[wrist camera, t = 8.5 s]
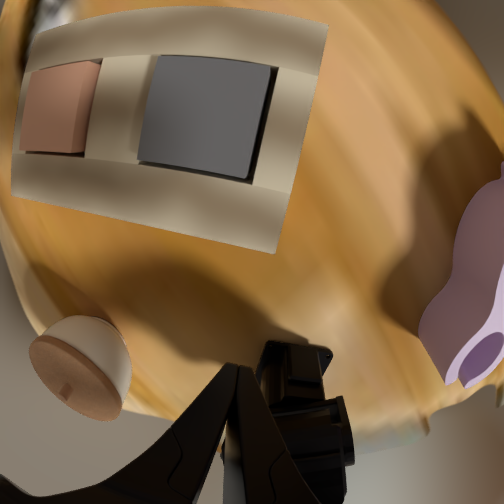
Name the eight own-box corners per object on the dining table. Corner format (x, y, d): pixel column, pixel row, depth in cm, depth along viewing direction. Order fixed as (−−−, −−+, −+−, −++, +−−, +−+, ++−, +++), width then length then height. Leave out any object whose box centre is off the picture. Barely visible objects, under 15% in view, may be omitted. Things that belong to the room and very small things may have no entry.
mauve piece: (458, 353, 24) (482, 392, 17) (391, 327, 23) (417, 378, 16) (539, 210, 17) (579, 229, 10) (490, 143, 16) (543, 151, 9)
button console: (274, 231, 20) (274, 254, 16) (43, 184, 20) (11, 195, 16) (317, 49, 15) (328, 25, 11) (67, 43, 15) (36, 34, 10)
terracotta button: (104, 148, 17) (71, 152, 13) (52, 145, 17) (19, 150, 13) (119, 71, 15) (88, 60, 11) (63, 77, 15) (31, 72, 11)
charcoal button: (250, 171, 17) (244, 178, 13) (163, 156, 17) (136, 159, 13) (270, 83, 15) (270, 66, 11) (181, 72, 15) (158, 55, 11)
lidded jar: (152, 382, 28) (124, 445, 19) (79, 359, 28) (44, 409, 19) (139, 309, 24) (91, 378, 15) (57, 288, 24) (4, 336, 15)
